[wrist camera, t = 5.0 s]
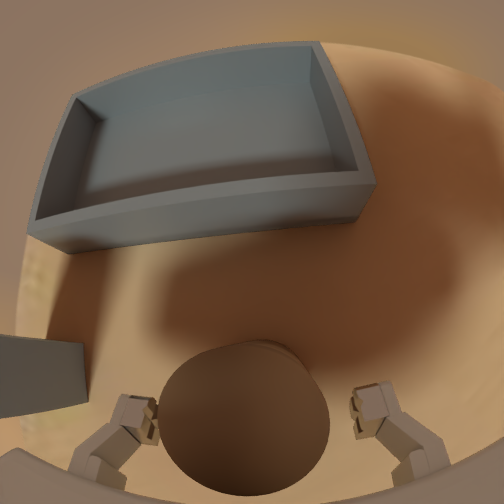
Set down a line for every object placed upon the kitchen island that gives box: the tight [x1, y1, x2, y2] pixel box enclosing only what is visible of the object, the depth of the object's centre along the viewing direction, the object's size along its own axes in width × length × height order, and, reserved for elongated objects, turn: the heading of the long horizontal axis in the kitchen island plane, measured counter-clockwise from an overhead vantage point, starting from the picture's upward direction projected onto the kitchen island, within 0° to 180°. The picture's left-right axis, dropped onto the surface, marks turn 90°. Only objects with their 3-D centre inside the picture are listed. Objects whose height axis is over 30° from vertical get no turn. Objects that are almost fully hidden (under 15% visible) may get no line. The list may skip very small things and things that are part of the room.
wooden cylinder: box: [157, 340, 330, 496], centre depth 11 cm, size 5×5×9 cm
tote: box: [26, 41, 377, 254], centre depth 18 cm, size 22×14×5 cm, turn 94°
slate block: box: [0, 334, 88, 419], centre depth 12 cm, size 4×4×10 cm
